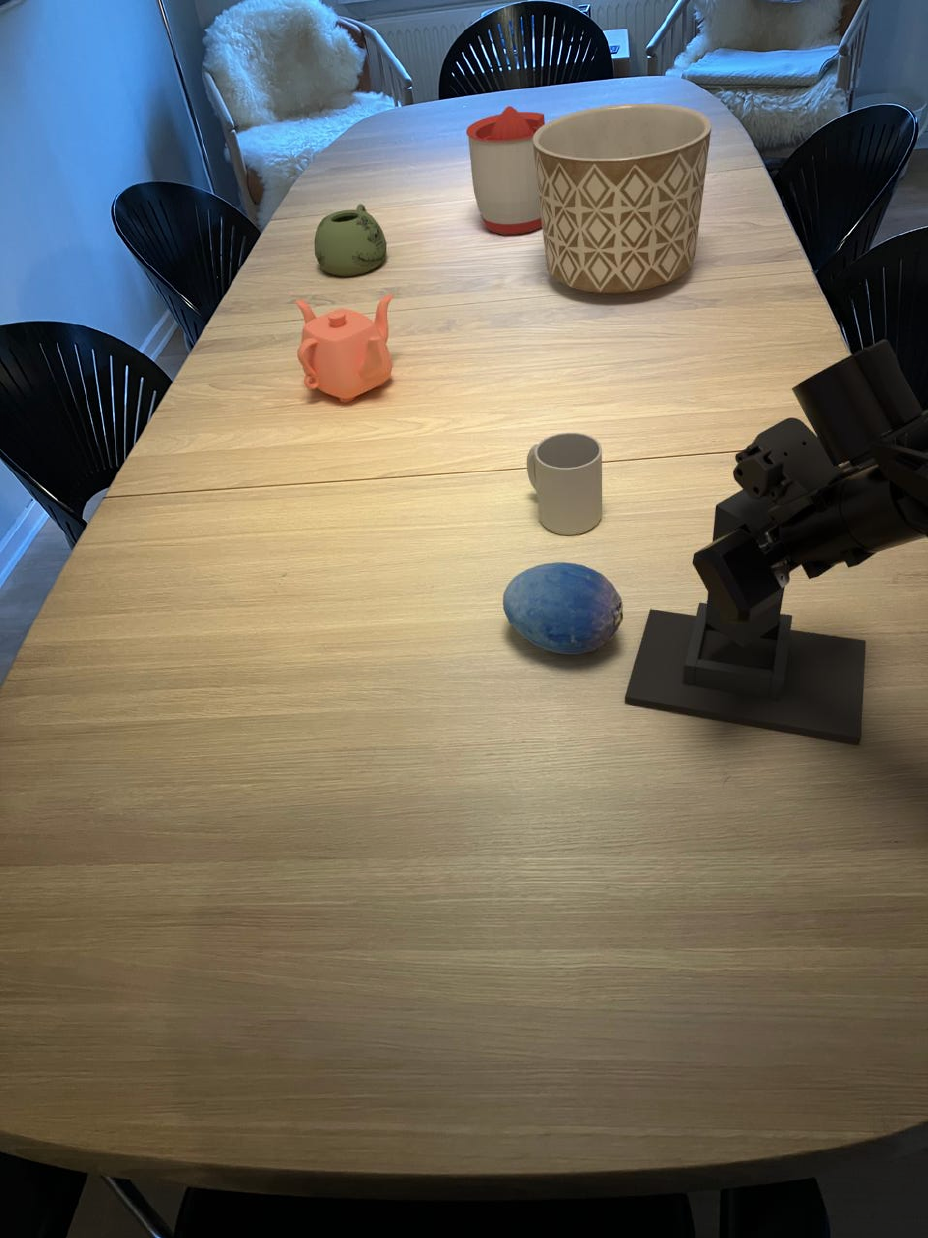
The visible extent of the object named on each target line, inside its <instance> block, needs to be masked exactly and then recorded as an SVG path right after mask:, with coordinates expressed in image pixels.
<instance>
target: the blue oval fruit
mask: <svg viewBox="0 0 928 1238" xmlns="http://www.w3.org/2000/svg"><path fill="white" fill-rule="evenodd" d="M502 609H503V612H504V615H505V617H506V619H507V621H508V623H509V624H510V625H511V626H512V627H513V629H515V630H516V631H517V633H519V634H520V635H521V636H522V637H523V638H524V639H525V640H527V641H529V642H531V643H532V645H535V646H536V647H538V648H541V649H543V650H546V651H549V652H552V653H555V654H563V655H579V654H585V653H588V652H591V651H594V650H596V649H598V648H600V647H602V646H603V645H605V644H606V643H608V642H610V640H612V639H613V638H614V636H615V635H616V633H617V631H618V629H619V627H620V626H621V623H622V622H623V619H624V611H623V610H624V604H623V601H622V597H621V595H620V594H619V593H618V591H617V589H616V588H615V586H614V585H613V583H612V582H610V580H609V579H608V578H607V577H606V576H605V575H604V574H602V573H601V572H598V571H597V570H595V569H593V568H591V567H589V566H586V565H583V564H580V563H579V564H578V563H574V562H573V563H572V562H566V561H565V562H564V561H562V562H561V561H560V562H559V561H558V562H550V563H549V562H548V563H542V564H538V565H535V566H533V567H530V568H528V569H525V570H523V571H522V572H520V573H518V574H517V575H515V576H514V577H513V578H512V579H511V580H510V582H509V583H508V584H507V586H506V588H505V590H504V591H503V595H502Z"/></svg>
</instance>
